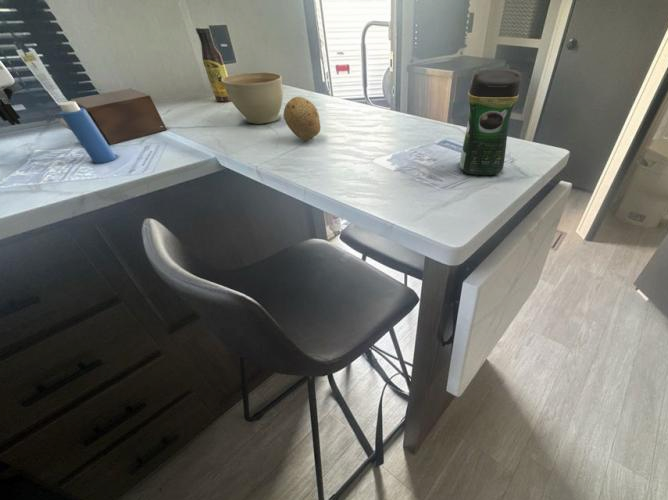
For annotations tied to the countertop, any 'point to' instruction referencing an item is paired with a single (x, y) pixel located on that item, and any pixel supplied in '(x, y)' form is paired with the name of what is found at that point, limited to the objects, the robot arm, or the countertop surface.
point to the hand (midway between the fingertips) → (14, 122)
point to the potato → (302, 118)
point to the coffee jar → (489, 120)
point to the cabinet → (123, 114)
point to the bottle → (86, 132)
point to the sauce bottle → (213, 64)
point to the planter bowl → (256, 95)
